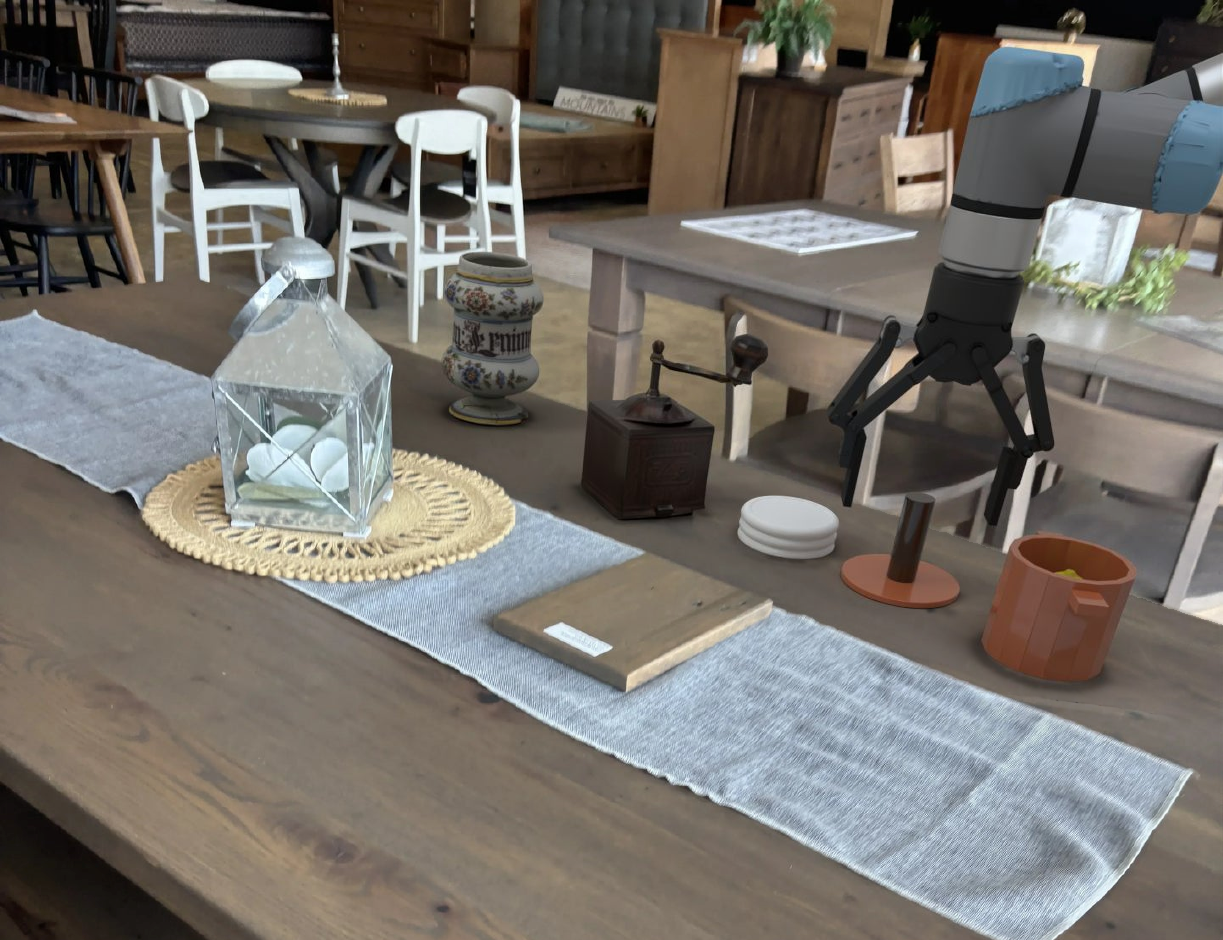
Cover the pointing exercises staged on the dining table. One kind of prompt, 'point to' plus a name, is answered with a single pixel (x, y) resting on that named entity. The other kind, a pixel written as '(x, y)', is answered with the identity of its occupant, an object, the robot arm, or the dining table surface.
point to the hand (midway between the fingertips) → (917, 511)
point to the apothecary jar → (491, 336)
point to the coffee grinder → (657, 442)
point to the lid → (904, 564)
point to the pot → (1057, 607)
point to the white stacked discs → (788, 527)
